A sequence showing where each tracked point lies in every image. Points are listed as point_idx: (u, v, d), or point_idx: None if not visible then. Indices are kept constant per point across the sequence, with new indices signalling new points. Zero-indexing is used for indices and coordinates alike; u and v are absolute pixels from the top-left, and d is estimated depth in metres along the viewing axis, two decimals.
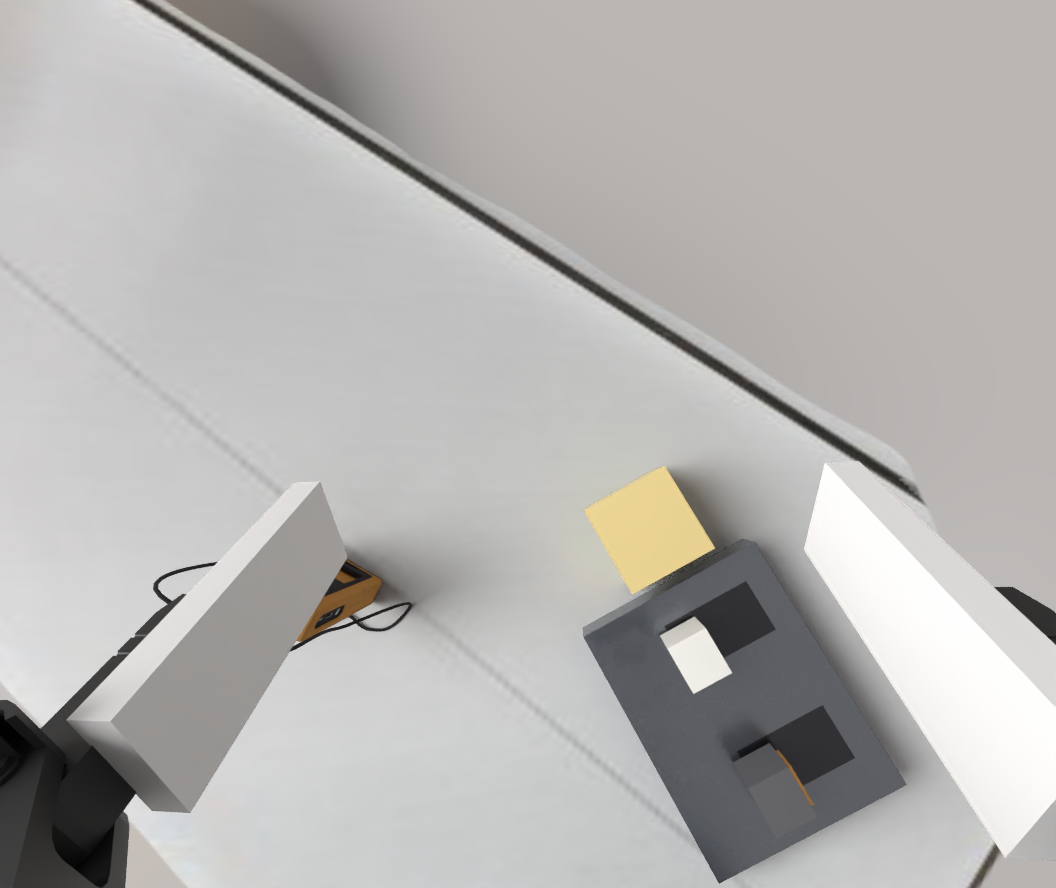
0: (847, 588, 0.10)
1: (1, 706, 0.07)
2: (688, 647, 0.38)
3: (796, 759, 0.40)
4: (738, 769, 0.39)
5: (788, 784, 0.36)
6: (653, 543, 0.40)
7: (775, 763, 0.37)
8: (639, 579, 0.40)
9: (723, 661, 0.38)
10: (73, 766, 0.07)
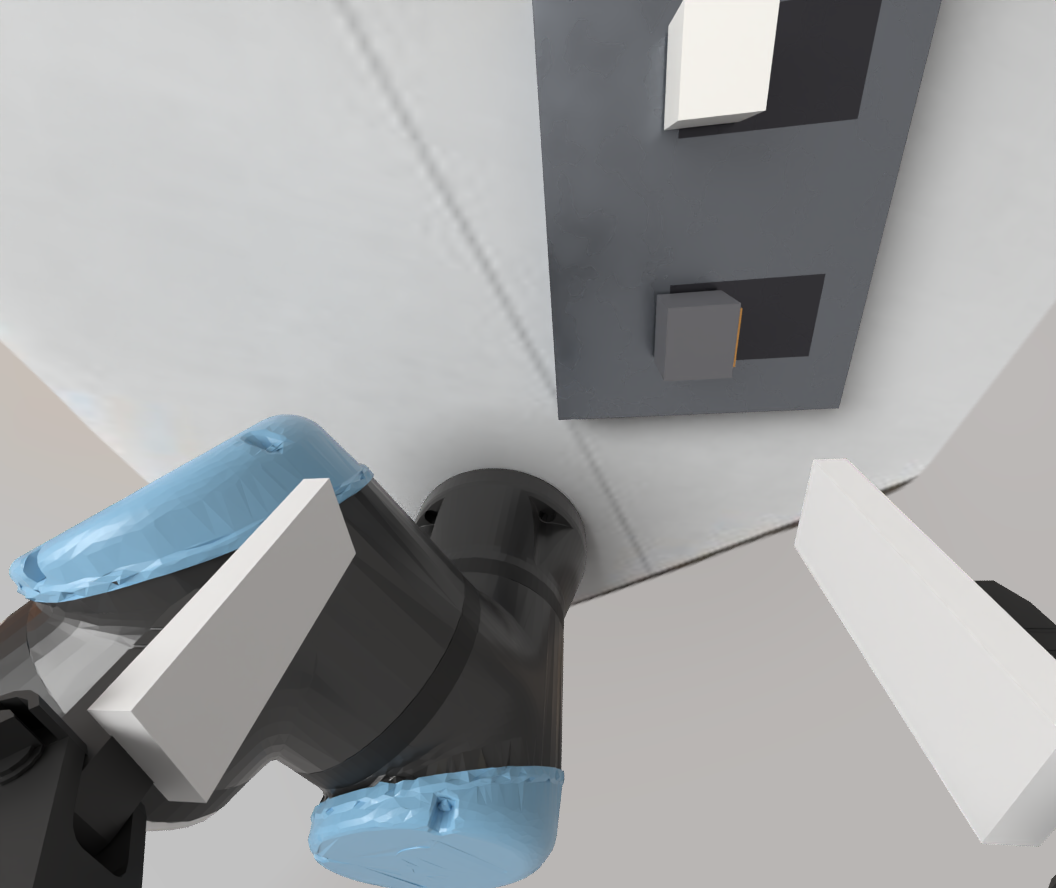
0: (834, 583, 0.10)
1: (25, 696, 0.07)
2: (724, 14, 0.18)
3: None
4: (662, 298, 0.26)
5: (724, 325, 0.24)
6: None
7: (722, 300, 0.24)
8: None
9: (766, 78, 0.19)
10: (94, 757, 0.07)
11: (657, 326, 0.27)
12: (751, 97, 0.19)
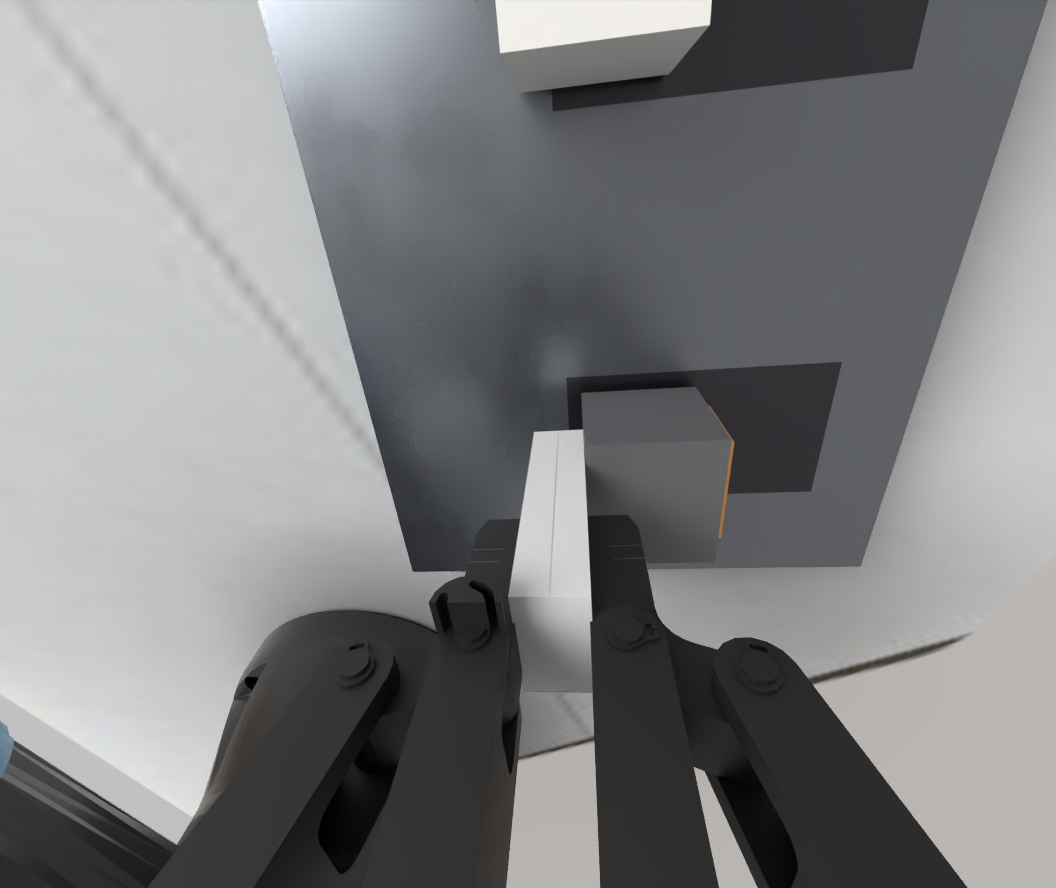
0: None
1: (492, 587, 0.08)
2: None
3: None
4: (586, 406, 0.14)
5: (699, 477, 0.12)
6: None
7: (694, 423, 0.12)
8: None
9: None
10: (511, 656, 0.08)
11: None
12: None
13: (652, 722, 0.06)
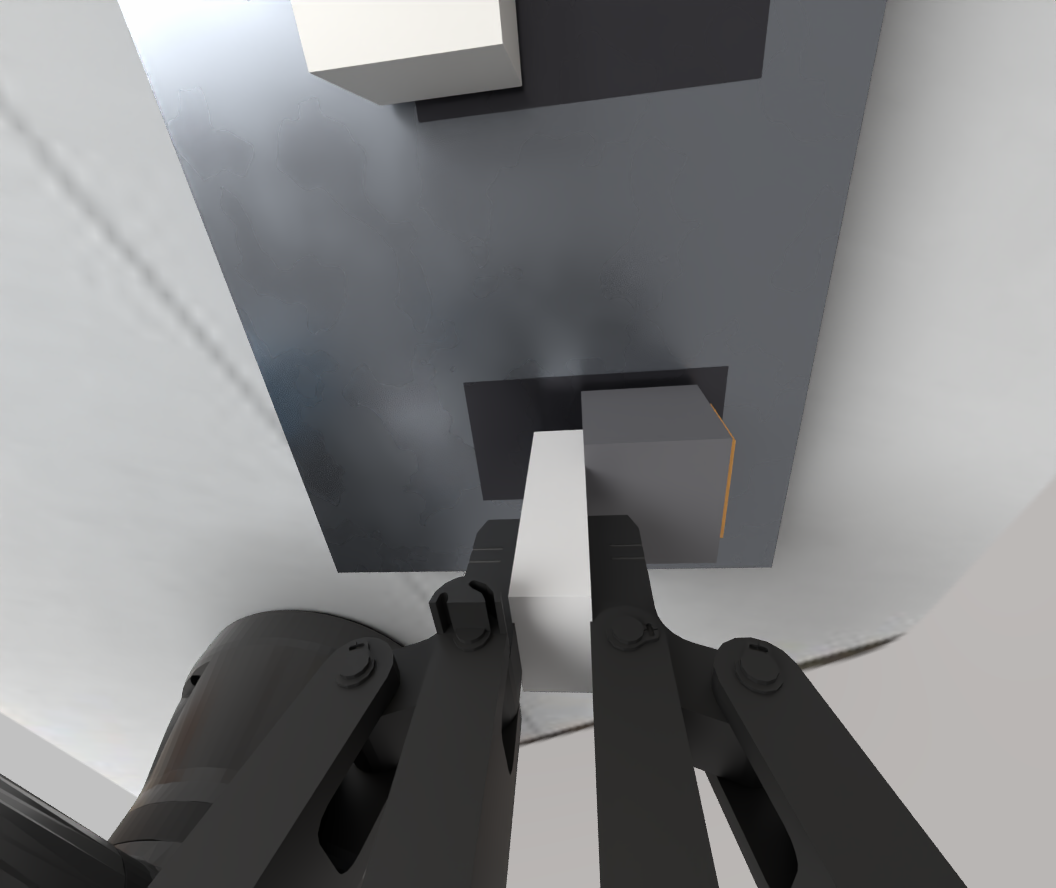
0: None
1: (491, 587, 0.08)
2: None
3: None
4: (585, 405, 0.14)
5: (700, 476, 0.12)
6: None
7: (695, 422, 0.12)
8: None
9: None
10: (511, 656, 0.08)
11: None
12: (461, 10, 0.08)
13: (652, 722, 0.06)
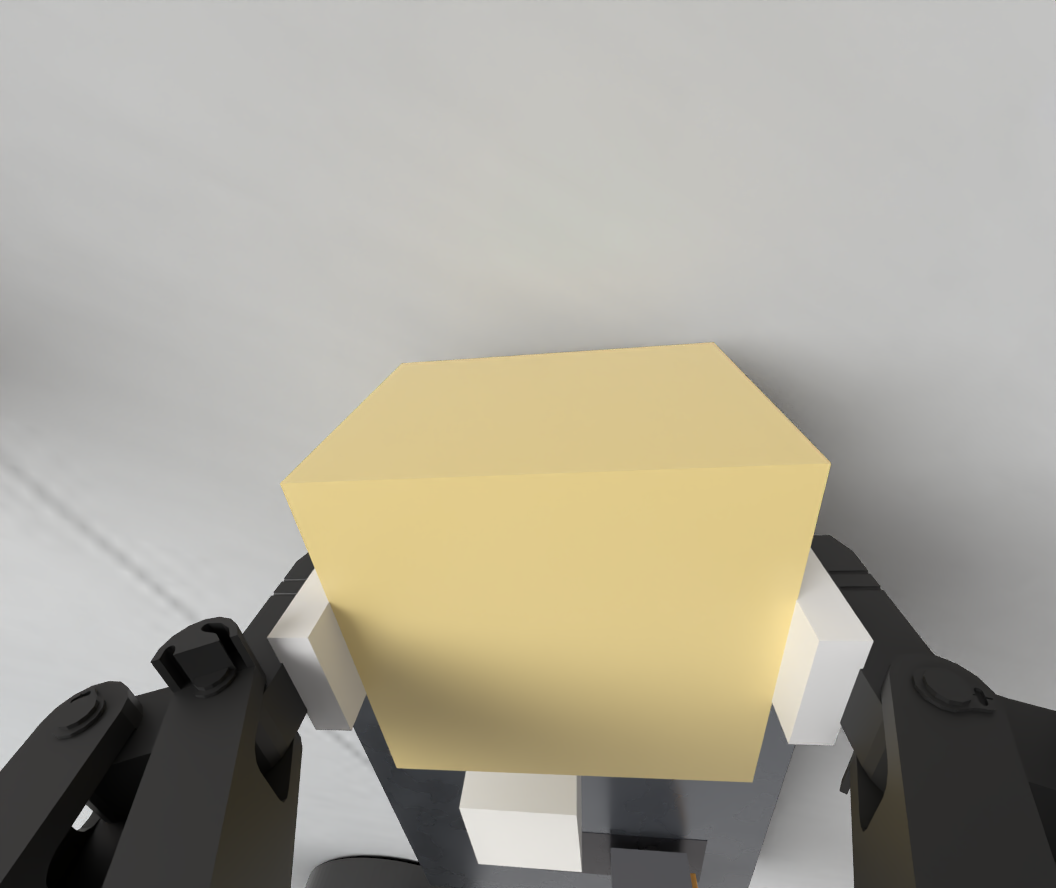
0: None
1: (227, 624, 0.07)
2: (511, 821, 0.14)
3: None
4: (614, 877, 0.21)
5: None
6: (544, 696, 0.09)
7: None
8: (439, 751, 0.11)
9: (576, 858, 0.15)
10: (270, 687, 0.08)
11: None
12: (561, 864, 0.15)
13: (990, 808, 0.05)
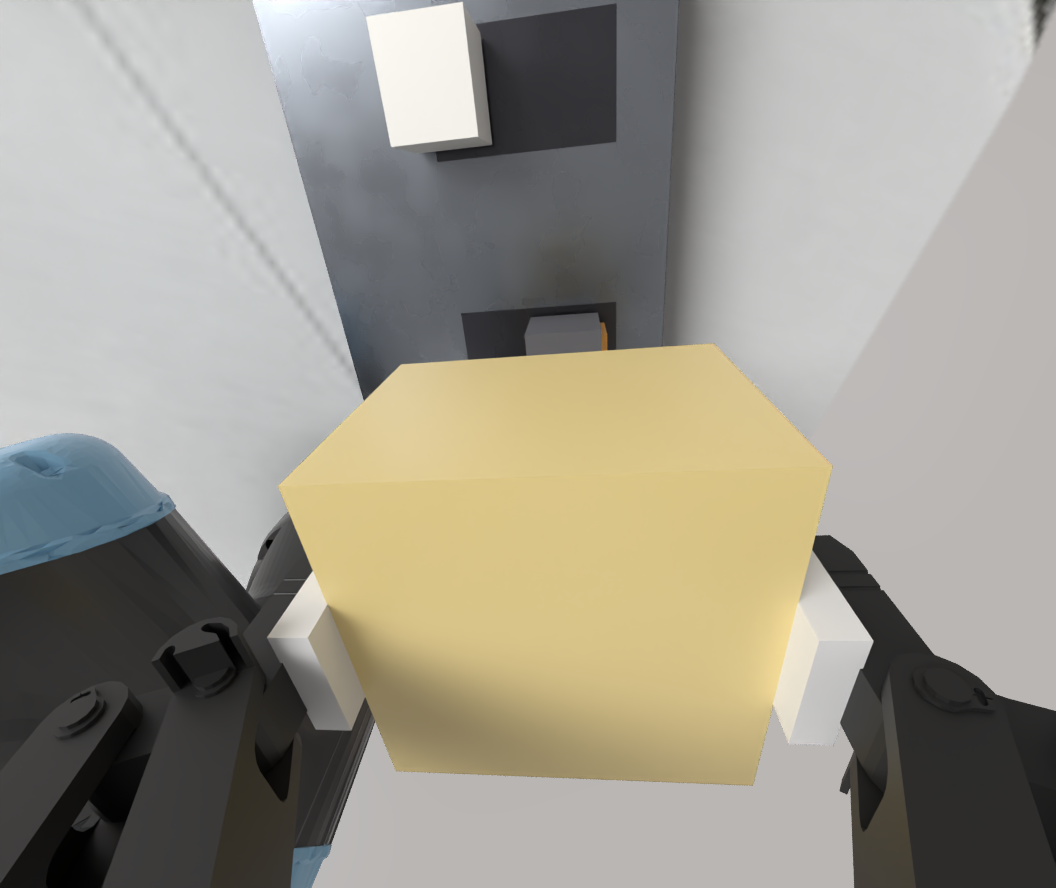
0: None
1: (227, 624, 0.07)
2: (411, 35, 0.17)
3: None
4: (531, 322, 0.24)
5: None
6: (544, 699, 0.09)
7: (586, 325, 0.22)
8: (438, 754, 0.11)
9: (470, 103, 0.18)
10: (270, 687, 0.08)
11: None
12: (460, 122, 0.18)
13: (991, 808, 0.05)
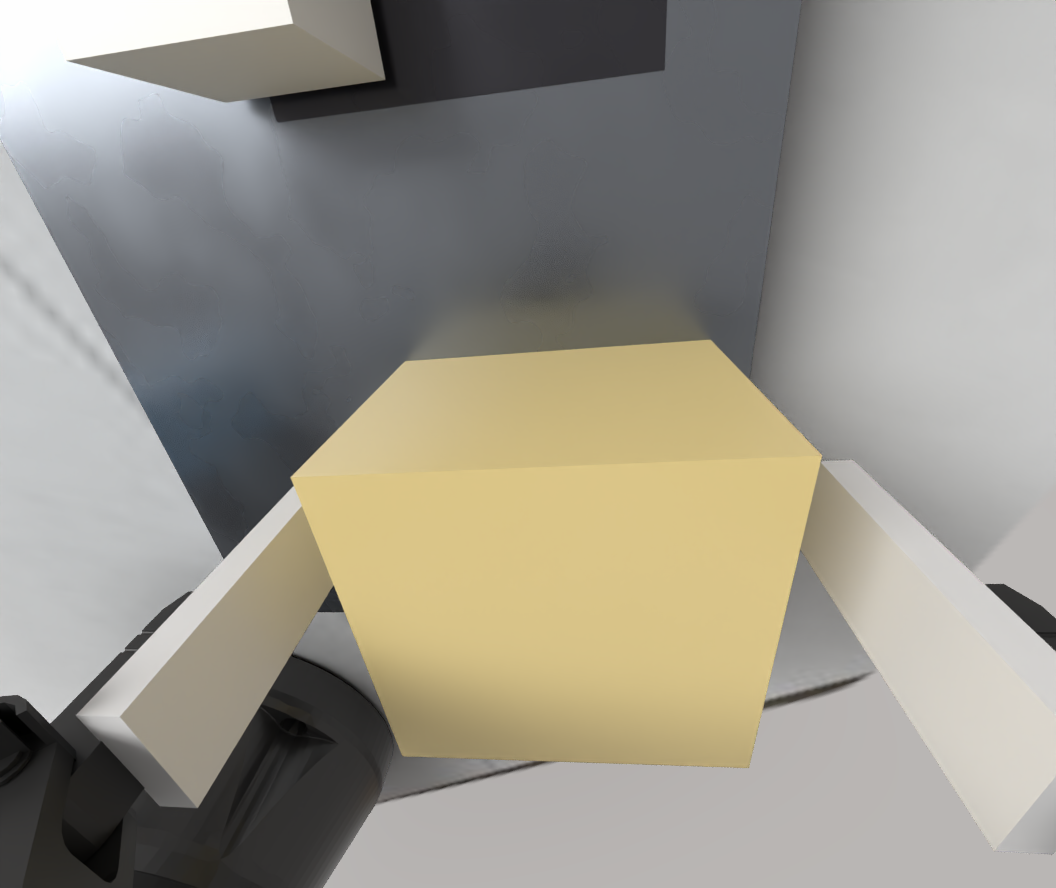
0: (841, 586, 0.10)
1: (12, 701, 0.07)
2: None
3: None
4: None
5: None
6: (546, 684, 0.10)
7: None
8: (443, 739, 0.11)
9: None
10: (83, 761, 0.07)
11: None
12: None
13: None
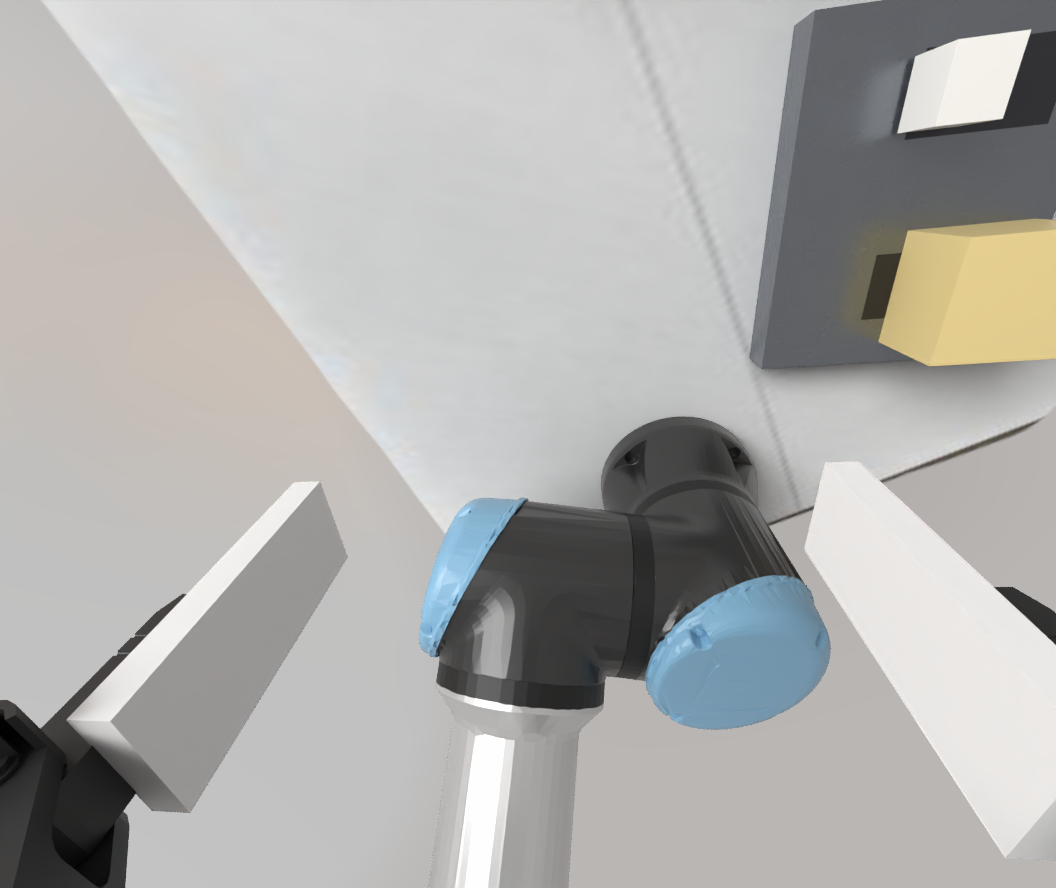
0: (847, 588, 0.10)
1: (1, 706, 0.07)
2: (984, 51, 0.25)
3: None
4: None
5: None
6: (1007, 319, 0.30)
7: None
8: (952, 354, 0.31)
9: (1007, 96, 0.26)
10: (73, 767, 0.07)
11: None
12: (993, 109, 0.27)
13: None
